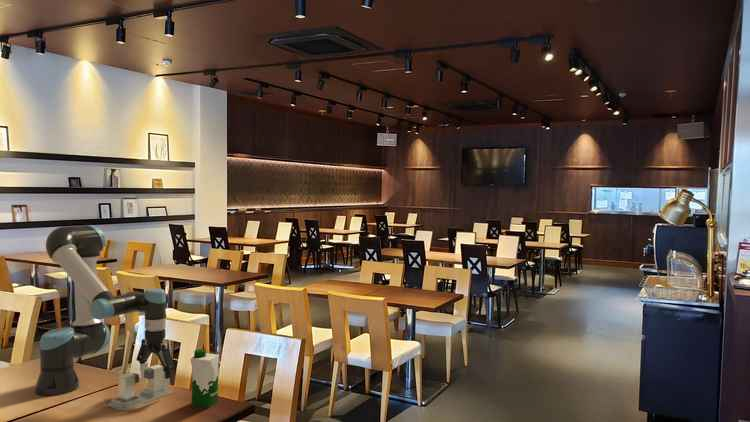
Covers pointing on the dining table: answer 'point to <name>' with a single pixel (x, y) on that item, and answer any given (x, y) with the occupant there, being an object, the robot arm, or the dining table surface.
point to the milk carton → (204, 378)
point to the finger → (154, 378)
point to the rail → (138, 399)
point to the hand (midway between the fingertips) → (154, 383)
